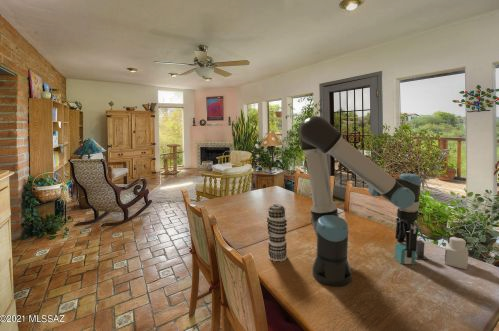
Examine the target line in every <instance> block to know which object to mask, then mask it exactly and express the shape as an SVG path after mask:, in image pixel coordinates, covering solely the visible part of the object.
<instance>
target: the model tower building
mask: <svg viewBox="0 0 499 331" xmlns="http://www.w3.org/2000/svg"><path fill="white" fill-rule="evenodd" d="M267 210H268V216H267V217H266V222H267V234H268V243H267V244H268V259H269V258H270V259H271V261H272V260H273V261H272V262H276V261H280V262H283V261H286V259H287V253H288V252H287V251H288V250H287V245H288V244H287V242H286V241H287V240H286V235H287V229H288V228H287V226H288V225H287V224H288V223H287V222H288V221H287V219H286V208H285V207H284V206H283V205H282V204H271V205H270V206H269V207H268V208H267ZM270 259H269V260H270Z"/></svg>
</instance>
